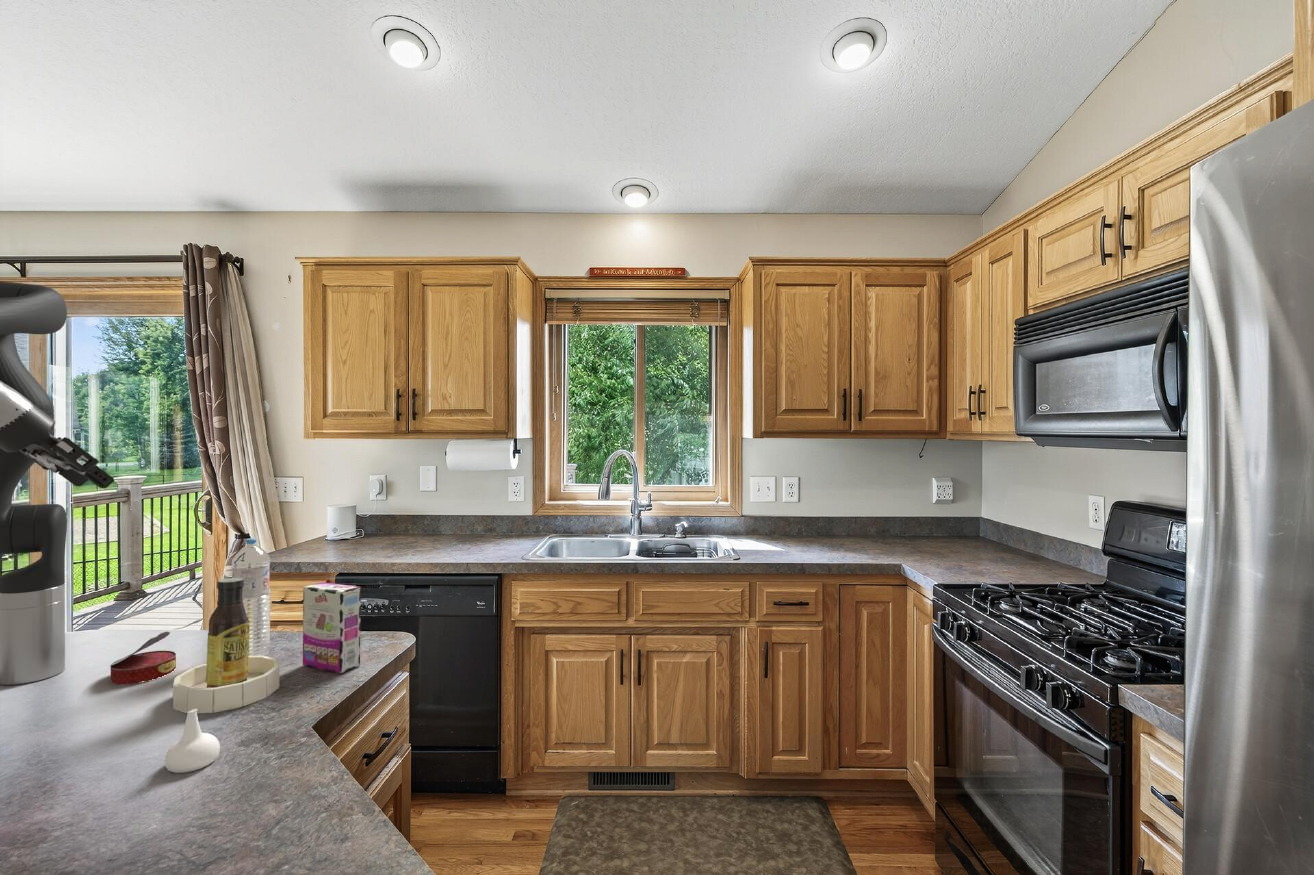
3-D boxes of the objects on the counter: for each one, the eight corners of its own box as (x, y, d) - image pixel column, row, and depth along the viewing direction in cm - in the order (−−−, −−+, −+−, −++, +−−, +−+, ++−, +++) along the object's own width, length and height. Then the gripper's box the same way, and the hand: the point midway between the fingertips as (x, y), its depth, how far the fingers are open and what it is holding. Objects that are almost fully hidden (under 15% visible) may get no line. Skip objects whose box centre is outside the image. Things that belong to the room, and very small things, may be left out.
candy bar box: (362, 666, 124) (362, 586, 124) (341, 675, 119) (341, 592, 119) (322, 657, 128) (323, 580, 128) (301, 666, 124) (301, 586, 123)
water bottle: (255, 662, 125) (256, 542, 125) (223, 662, 125) (223, 541, 125) (277, 650, 132) (277, 536, 132) (246, 650, 132) (246, 536, 132)
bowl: (154, 702, 107) (154, 679, 107) (246, 670, 121) (246, 650, 121) (206, 720, 100) (206, 696, 100) (297, 685, 114) (297, 664, 114)
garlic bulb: (205, 751, 92) (202, 698, 92) (229, 758, 89) (226, 703, 89) (156, 772, 86) (153, 715, 86) (180, 780, 83) (177, 721, 84)
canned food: (134, 709, 114) (103, 672, 110) (116, 690, 120) (86, 654, 115) (198, 665, 122) (172, 629, 118) (178, 649, 128) (152, 614, 123)
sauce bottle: (225, 698, 106) (226, 585, 106) (196, 694, 108) (197, 583, 107) (257, 683, 113) (258, 576, 113) (229, 680, 114) (230, 574, 114)
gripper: (48, 399, 94) (136, 469, 105) (7, 400, 100) (94, 466, 111) (0, 433, 89) (98, 502, 100) (-40, 432, 95) (56, 498, 106)
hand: (96, 483), depth 105 cm, fingers open, 8 cm apart
